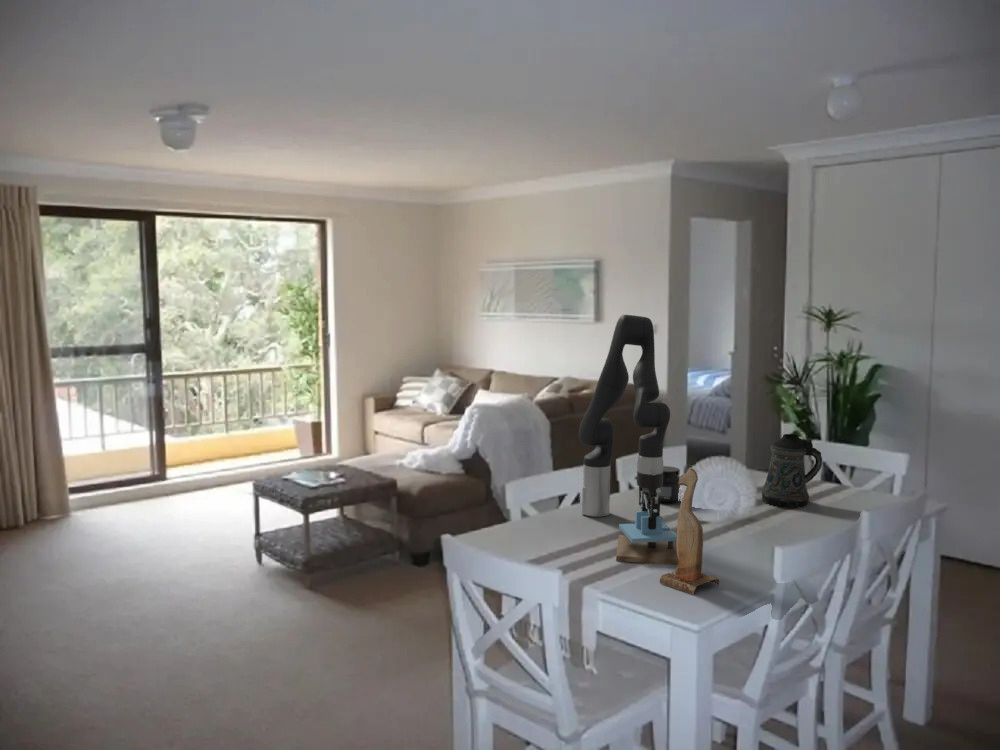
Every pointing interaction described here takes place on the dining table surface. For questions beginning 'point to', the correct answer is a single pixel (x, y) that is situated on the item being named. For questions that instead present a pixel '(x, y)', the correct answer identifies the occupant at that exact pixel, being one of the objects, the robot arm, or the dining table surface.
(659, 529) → the flange plate
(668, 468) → the supplement container
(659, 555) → the post board
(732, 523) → the dining table surface
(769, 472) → the beer stein
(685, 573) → the bird sculpture
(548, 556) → the dining table surface
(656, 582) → the dining table surface
